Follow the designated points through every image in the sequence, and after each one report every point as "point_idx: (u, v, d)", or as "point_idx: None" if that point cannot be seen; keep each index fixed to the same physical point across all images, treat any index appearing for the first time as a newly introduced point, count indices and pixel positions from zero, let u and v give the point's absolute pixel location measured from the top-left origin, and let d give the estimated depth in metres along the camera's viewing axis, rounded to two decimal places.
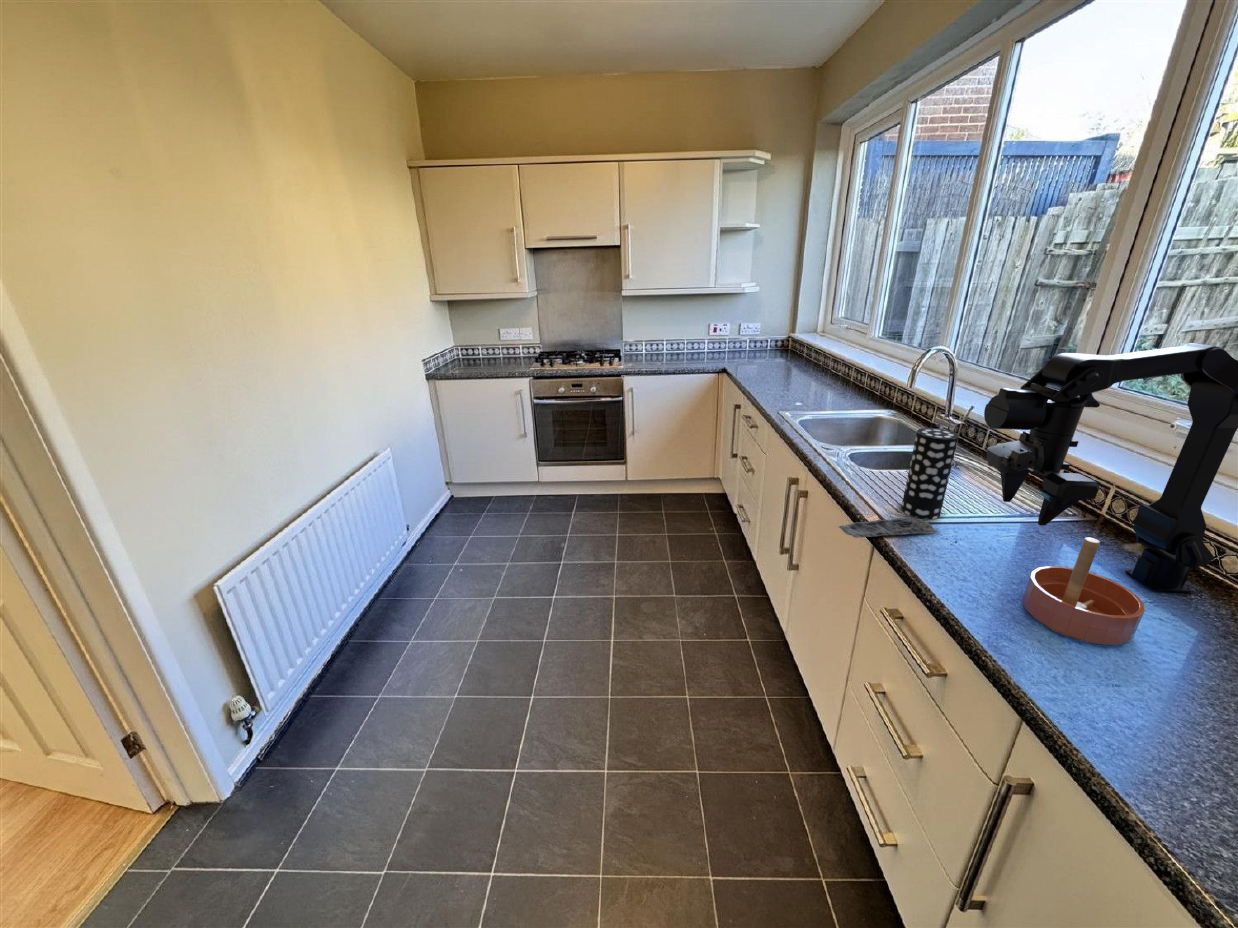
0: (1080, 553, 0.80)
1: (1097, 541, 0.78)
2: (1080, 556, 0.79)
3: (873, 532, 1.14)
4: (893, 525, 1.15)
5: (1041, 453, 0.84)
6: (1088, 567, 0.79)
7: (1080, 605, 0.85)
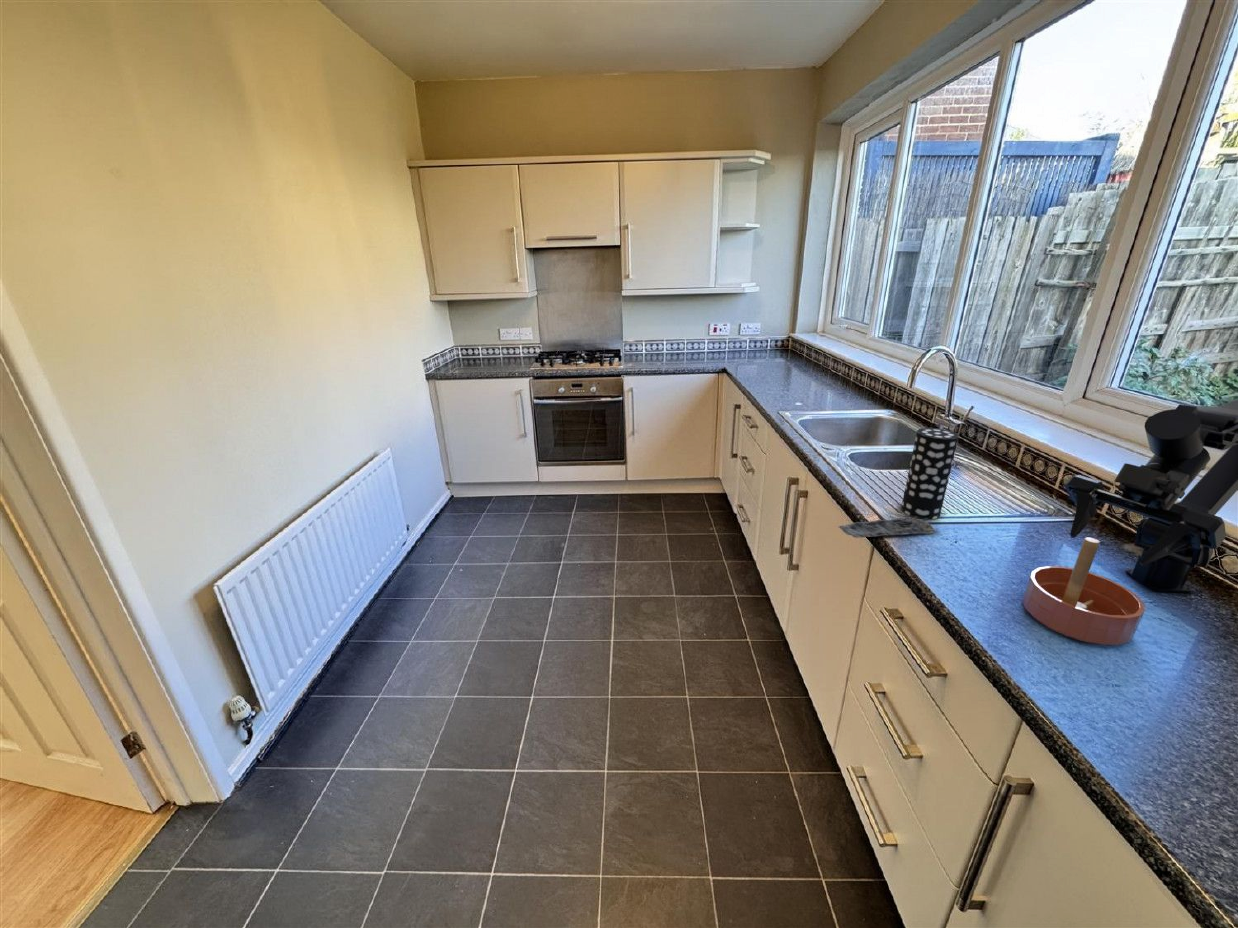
0: (1080, 553, 0.80)
1: (1097, 541, 0.78)
2: (1080, 556, 0.79)
3: (873, 532, 1.14)
4: (893, 525, 1.15)
5: None
6: (1088, 567, 0.79)
7: (1080, 605, 0.85)
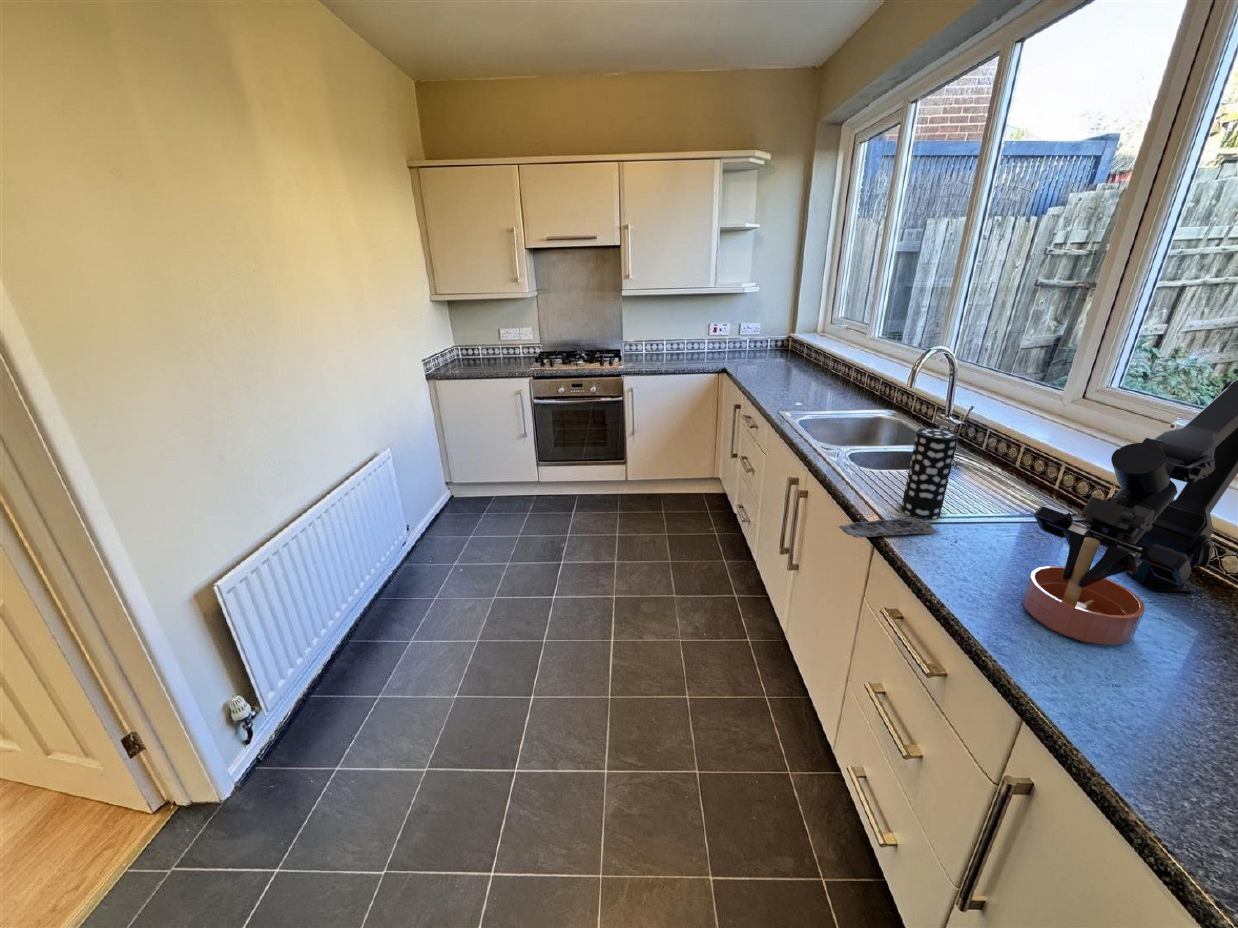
0: (1080, 553, 0.80)
1: (1097, 541, 0.78)
2: (1080, 556, 0.79)
3: (873, 532, 1.14)
4: (893, 525, 1.15)
5: None
6: (1088, 567, 0.79)
7: (1080, 605, 0.85)
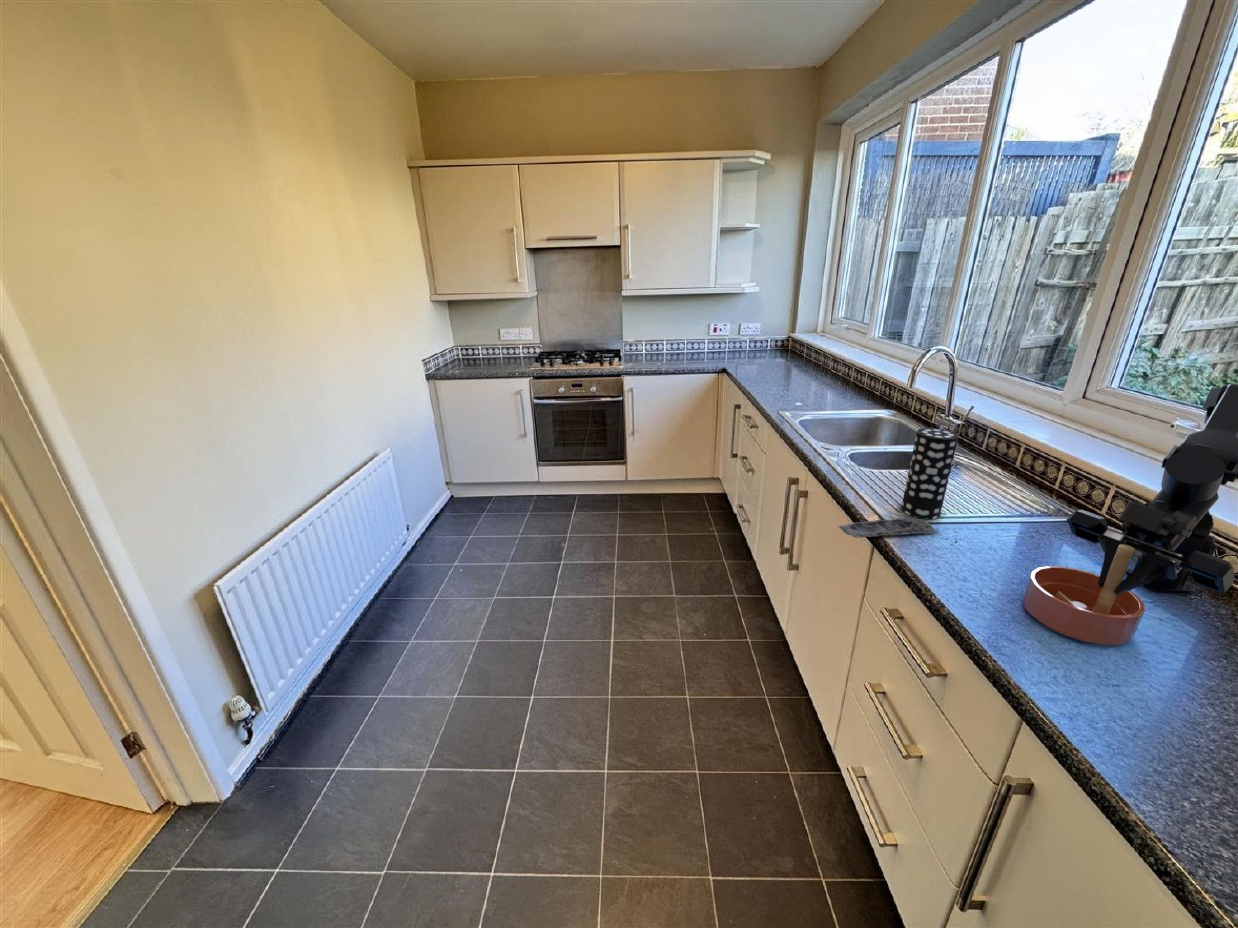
0: (1120, 564, 0.77)
1: (1130, 546, 0.76)
2: (1122, 566, 0.77)
3: (873, 532, 1.14)
4: (893, 525, 1.15)
5: None
6: (1124, 573, 0.77)
7: (1080, 604, 0.85)
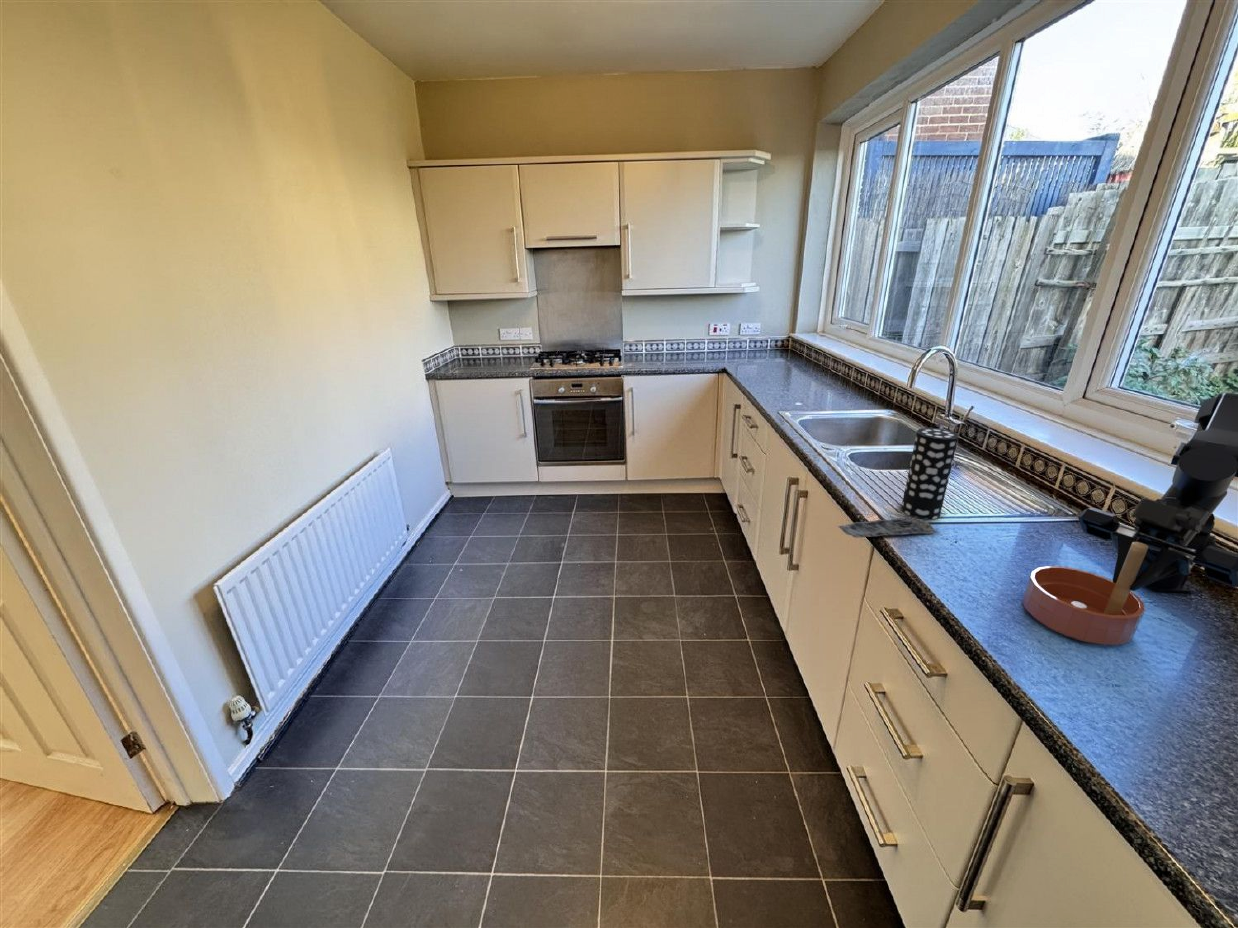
0: (1139, 562, 0.77)
1: (1140, 543, 0.77)
2: (1140, 564, 0.77)
3: (873, 532, 1.14)
4: (893, 525, 1.15)
5: None
6: None
7: (1079, 604, 0.85)
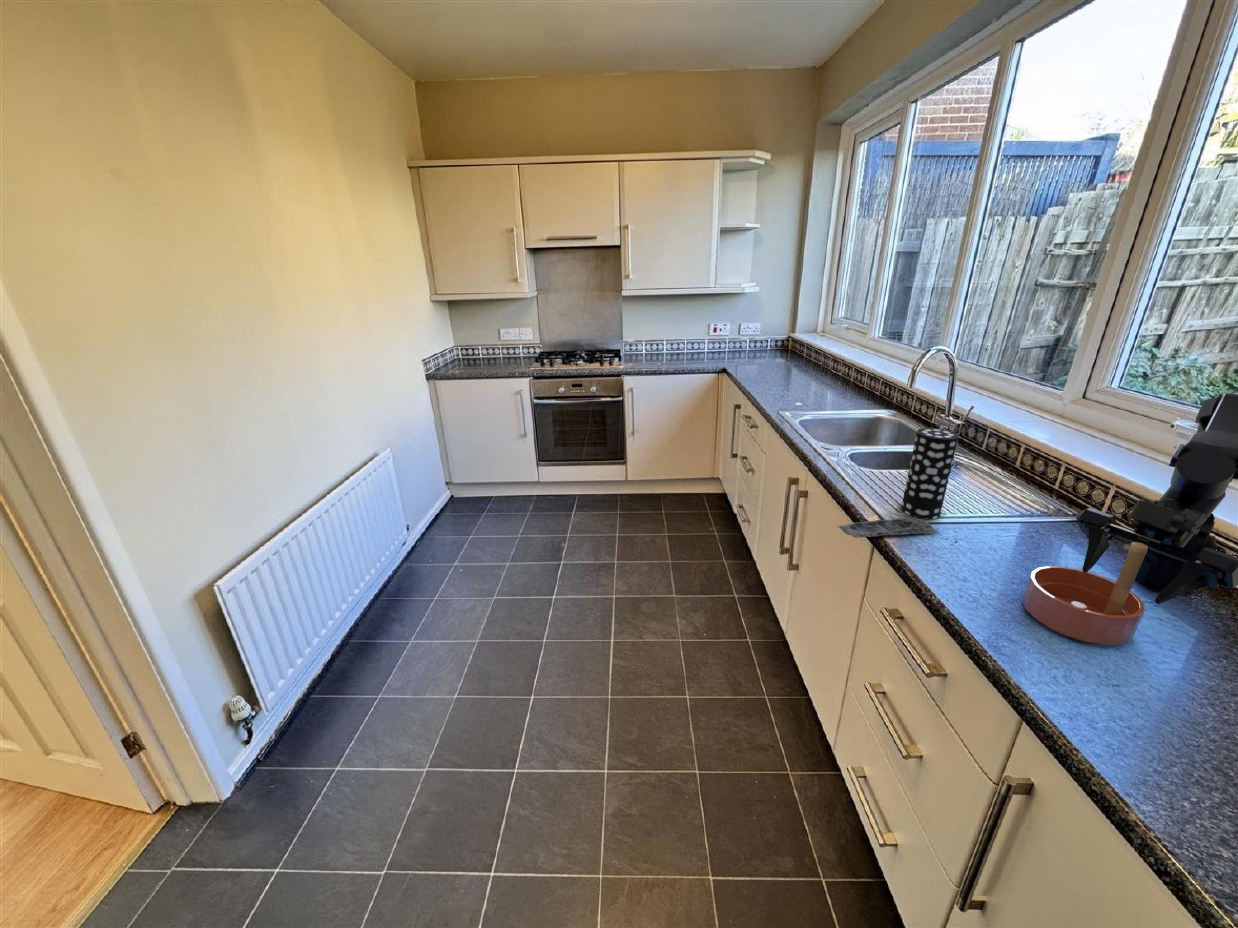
0: (1138, 562, 0.77)
1: (1140, 543, 0.77)
2: (1139, 564, 0.77)
3: (873, 532, 1.14)
4: (893, 525, 1.15)
5: None
6: None
7: (1079, 604, 0.85)
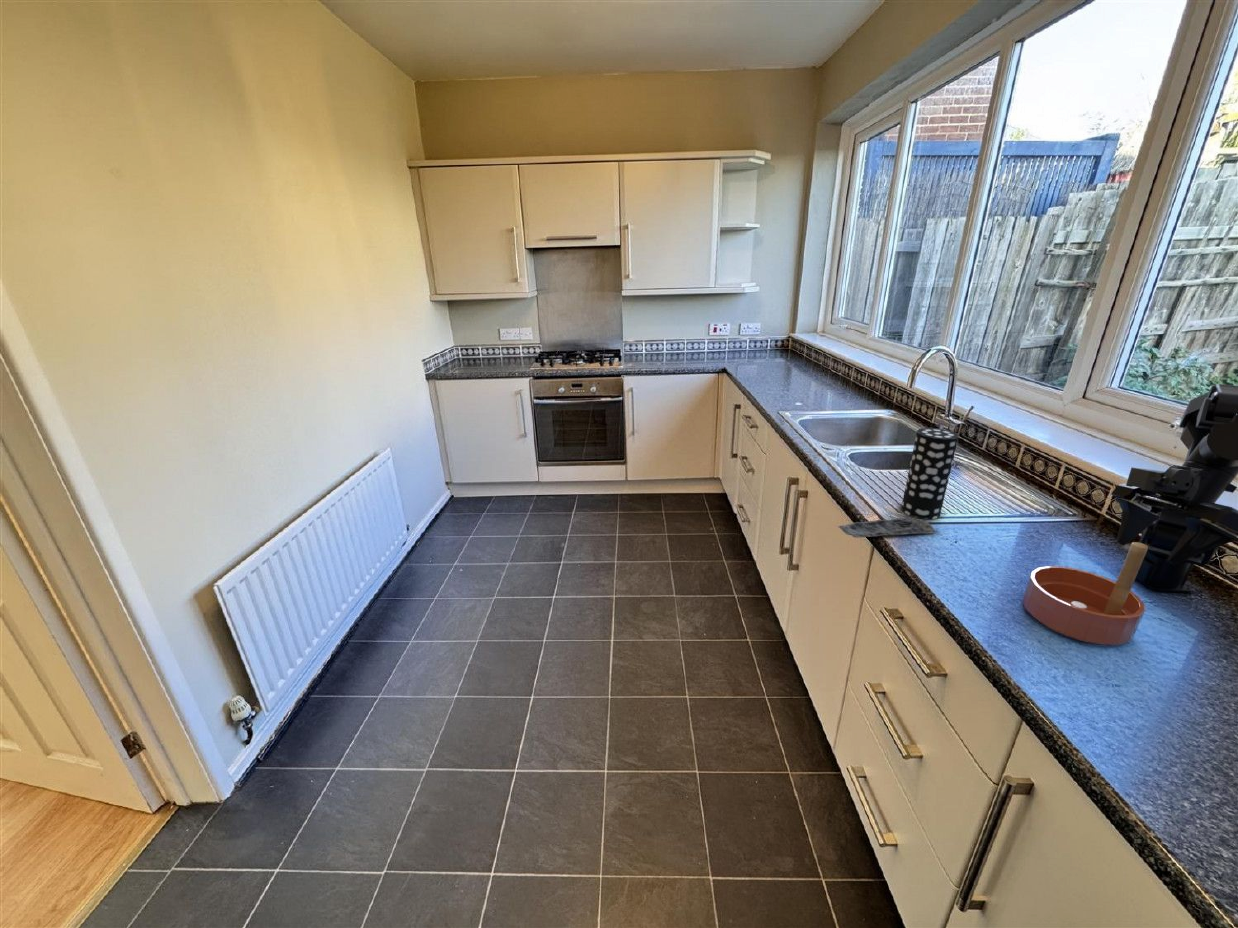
0: (1138, 562, 0.77)
1: (1140, 543, 0.77)
2: (1139, 564, 0.77)
3: (873, 532, 1.14)
4: (893, 525, 1.15)
5: (1196, 483, 0.78)
6: None
7: (1079, 604, 0.85)
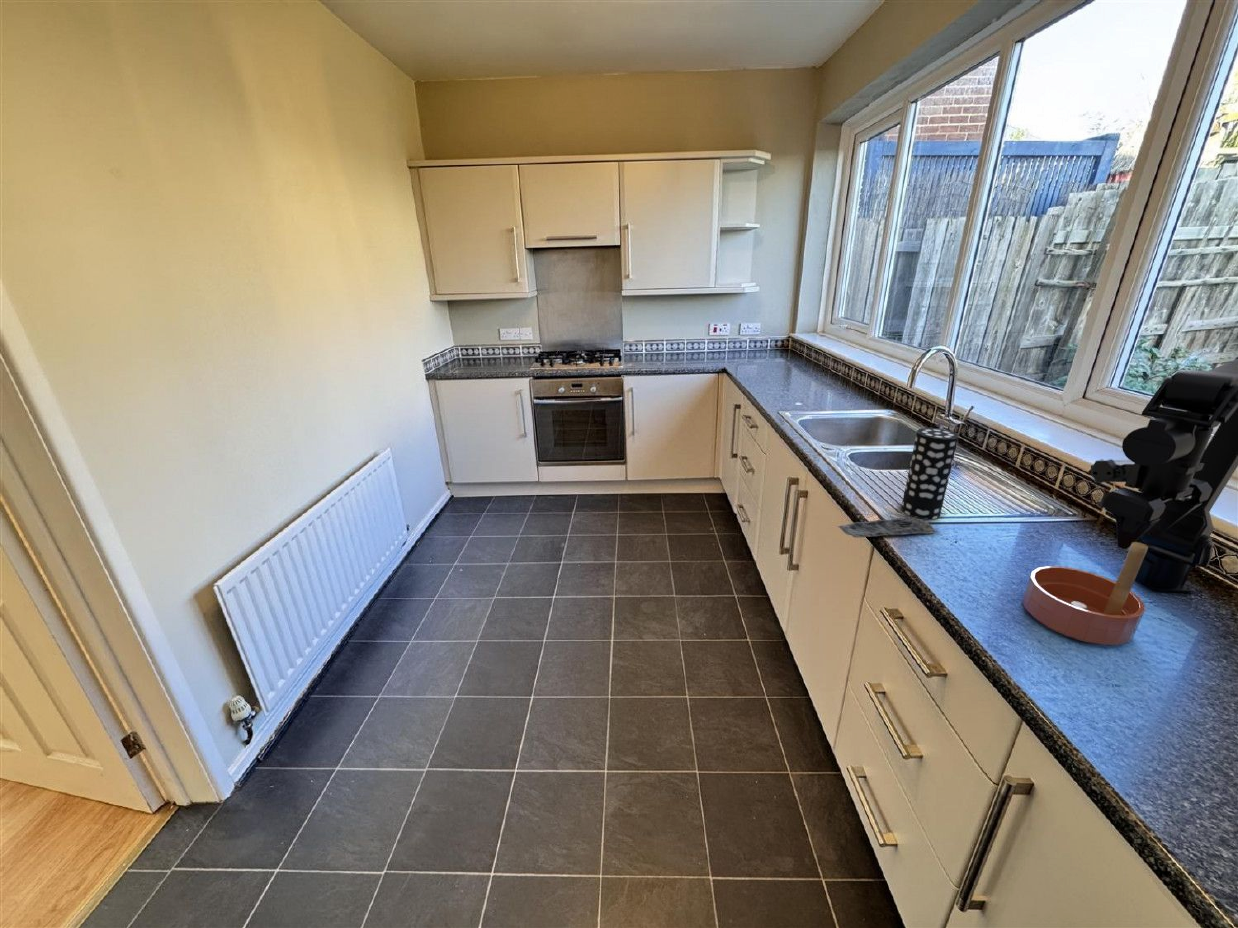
0: (1138, 562, 0.77)
1: (1140, 543, 0.77)
2: (1139, 564, 0.77)
3: (873, 532, 1.14)
4: (893, 525, 1.15)
5: (1135, 470, 0.81)
6: None
7: (1079, 604, 0.85)
